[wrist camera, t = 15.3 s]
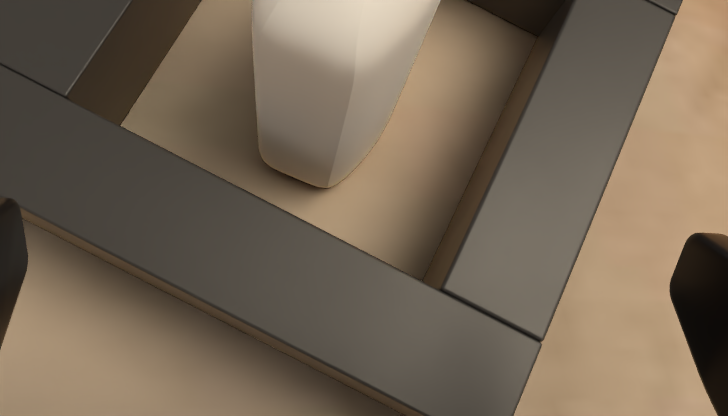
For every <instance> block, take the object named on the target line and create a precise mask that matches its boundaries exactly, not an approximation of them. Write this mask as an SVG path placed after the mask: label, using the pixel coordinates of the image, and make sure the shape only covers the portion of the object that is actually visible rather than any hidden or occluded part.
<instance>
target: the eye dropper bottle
mask: <svg viewBox="0 0 728 416" xmlns="http://www.w3.org/2000/svg"><path fill="white" fill-rule="evenodd" d="M440 1H441V0H252V45H253V63H254V81H255V99H256V115H257V130H258V145H259V152H260V154H261V157H262V160H263V161H264V162H265V163H267V164H268V165H269V166H270V167H272V168H274V169H276V170H278V171H280V172H282V173H285V174H287V175H289V176H292V177H294V178H296V179H299V180H301V181H304V182H306V183H309V184H311V185H314V186H316V187H324V188H329V187H331V186H334V185H336V184H338V183H339V182H341V181H342V180H343V179H344V178H346V177H347V176H348V175H349V174H350V173H351V172H352V171H353V170H354V169H355V168H356V167H357V166H358V165H359V164H360V163H361V162H362V160H363V159H364V158H365V157H366V156H367V154H368V153H369V152H370V151H371V149H372V148H373V146H374V145H375V144H376V142H377V141H378V139H379V137H380V136H381V134H382V132H383V131H384V129H385V127H386V125H387V123H388V121H389V119H390V117H391V115H392V112H393V110H394V108H395V106H396V103H397V101H398V99H399V96H400V94H401V92H402V89H403V87H404V85H405V82H406V80H407V78H408V75H409V73H410V71H411V68H412V66H413V64H414V61H415V59H416V57H417V54H418V52H419V50H420V47H421V45H422V43H423V40H424V38H425V36H426V33H427V31H428V29H429V26H430V24H431V22H432V19H433V17H434V15H435V12H436V10H437V8H438V5H439V3H440Z"/></svg>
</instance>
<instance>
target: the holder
mask: <svg viewBox="0 0 728 416" xmlns="http://www.w3.org/2000/svg"><path fill="white" fill-rule="evenodd" d="M468 1H470V2H472V3H474V4H476V5H478V6H480V7H482V8H484V9H486V10H488V11H490V12H492V13H494V14H495V15H497V16H499V17H501V18H503V19H505V20H507V21H509V22H511V23H513V24H515V25H517V26H519V27H521V28H523V29H525V30H527V31H529V32H531V33H533V34H535V35H536V36H538V38H537V40H536V42H535V44H534V46H533V48H532V50H531V52H530V54H529V57H528V59H527V61H526V63H525V65H524V67H523V69H522V71H521V73H520V76H519V78H518V80H517V82H516V84H515V86H514V88H513V90H512V93H511V95H510V97H509V99H508V101H507V103H506V105H505V107H504V109H503V112H502V114H501V116H500V118H499V120H498V122H497V124H496V126H495V128H494V131H493V133H492V135H491V137H490V139H489V141H488V143H487V145H486V148H485V150H484V152H483V154H482V156H481V158H480V160H479V162H478V164H477V167H476V169H475V171H474V173H473V175H472V177H471V179H470V181H469V184H468V186H467V188H466V190H465V192H464V194H463V196H462V198H461V200H460V203H459V205H458V207H457V209H456V211H455V213H454V215H453V217H452V220H451V222H450V224H449V226H448V228H447V230H446V232H445V234H444V236H443V239H442V241H441V243H440V245H439V247H438V249H437V251H436V253H435V255H434V258H433V260H432V262H431V264H430V266H429V268H428V270H427V272H426V275H425V277H424V279H423V281H421V280H419V279H417V278H415V277H413V276H411V275H409V274H407V273H405V272H403V271H401V270H399V269H397V268H395V267H393V266H392V265H390V264H388V263H386V262H384V261H382V260H380V259H378V258H376V257H374V256H372V255H370V254H368V253H366V252H364V251H362V250H360V249H358V248H357V247H355V246H353V245H351V244H349V243H347V242H345V241H343V240H341V239H339V238H337V237H335V236H333V235H331V234H329V233H327V232H325V231H323V230H321V229H320V228H318V227H316V226H314V225H312V224H310V223H308V222H306V221H304V220H302V219H300V218H298V217H296V216H294V215H292V214H290V213H288V212H286V211H285V210H283V209H281V208H279V207H277V206H275V205H273V204H271V203H269V202H267V201H265V200H263V199H261V198H259V197H257V196H255V195H253V194H251V193H250V192H248V191H246V190H244V189H242V188H240V187H238V186H236V185H234V184H232V183H230V182H228V181H226V180H224V179H222V178H220V177H218V176H216V175H215V174H213V173H211V172H209V171H207V170H205V169H203V168H201V167H199V166H197V165H195V164H193V163H191V162H189V161H187V160H185V159H183V158H181V157H179V156H178V155H176V154H174V153H172V152H170V151H168V150H166V149H164V148H162V147H160V146H158V145H156V144H154V143H152V142H150V141H148V140H146V139H144V138H143V137H141V136H139V135H137V134H135V133H133V132H131V131H129V130H127V129H125V128H123V127H121V126H120V124H121V122H122V121H123V119H124V118H125V116H126V115H127V113H128V112H129V110H130V109H131V107H132V106H133V104H134V103H135V101H136V99H137V98H138V96H139V95H140V93H141V92H142V90H143V89H144V87H145V86H146V84H147V83H148V81H149V80H150V78H151V77H152V75H153V73H154V72H155V70H156V69H157V67H158V66H159V64H160V63H161V61H162V60H163V58H164V57H165V55H166V54H167V52H168V50H169V49H170V47H171V46H172V44H173V43H174V41H175V40H176V38H177V37H178V35H179V34H180V32H181V31H182V29H183V28H184V26H185V24H186V23H187V21H188V20H189V18H190V17H191V15H192V14H193V12H194V11H195V9H196V8H197V6H198V5H199V3H200V2H201V0H0V197H5V198H12V199H14V200H15V201H16V202H17V203H18V205H19V207H20V210H21V215H22V218H23V219H25V220H27V221H29V222H31V223H33V224H34V225H36V226H38V227H40V228H42V229H44V230H46V231H48V232H50V233H52V234H54V235H56V236H58V237H60V238H62V239H64V240H66V241H67V242H69V243H71V244H73V245H75V246H77V247H79V248H81V249H83V250H85V251H87V252H89V253H91V254H93V255H95V256H97V257H99V258H100V259H102V260H104V261H106V262H108V263H110V264H112V265H114V266H116V267H118V268H120V269H122V270H124V271H126V272H128V273H130V274H132V275H133V276H135V277H137V278H139V279H141V280H143V281H145V282H147V283H149V284H151V285H153V286H155V287H157V288H159V289H161V290H163V291H165V292H166V293H168V294H170V295H172V296H174V297H176V298H178V299H180V300H182V301H184V302H186V303H188V304H190V305H192V306H194V307H196V308H198V309H199V310H201V311H203V312H205V313H207V314H209V315H211V316H213V317H215V318H217V319H219V320H221V321H223V322H225V323H227V324H229V325H231V326H232V327H234V328H236V329H238V330H240V331H242V332H244V333H246V334H248V335H250V336H252V337H254V338H256V339H258V340H260V341H262V342H264V343H265V344H267V345H269V346H271V347H273V348H275V349H277V350H279V351H281V352H283V353H285V354H287V355H289V356H291V357H293V358H295V359H297V360H298V361H300V362H302V363H304V364H306V365H308V366H310V367H312V368H314V369H316V370H318V371H320V372H322V373H324V374H326V375H328V376H330V377H332V378H333V379H335V380H337V381H339V382H341V383H343V384H345V385H347V386H349V387H351V388H353V389H355V390H357V391H359V392H361V393H363V394H365V395H366V396H368V397H370V398H372V399H374V400H376V401H378V402H380V403H382V404H384V405H386V406H388V407H390V408H392V409H394V410H396V411H398V412H399V413H401V414H403V415H405V416H513V415H514V413H515V410H516V408H517V405H518V403H519V400H520V398H521V395H522V393H523V390H524V388H525V386H526V383H527V381H528V378H529V376H530V373H531V371H532V368H533V366H534V363H535V361H536V359H537V356H538V354H539V351H540V349H541V346H542V344H541V343H540V342H542V341H543V340H544V338H545V336H546V333H547V331H548V328H549V326H550V323H551V321H552V319H553V316H554V314H555V311H556V309H557V306H558V304H559V301H560V299H561V296H562V294H563V292H564V289H565V287H566V284H567V282H568V279H569V277H570V274H571V272H572V269H573V267H574V265H575V262H576V260H577V257H578V255H579V252H580V250H581V247H582V245H583V242H584V240H585V238H586V235H587V233H588V230H589V228H590V225H591V223H592V220H593V218H594V215H595V213H596V211H597V208H598V206H599V203H600V201H601V198H602V196H603V193H604V191H605V188H606V186H607V184H608V181H609V179H610V176H611V174H612V171H613V169H614V166H615V164H616V161H617V159H618V157H619V154H620V152H621V149H622V147H623V144H624V142H625V139H626V137H627V134H628V132H629V130H630V127H631V125H632V122H633V120H634V117H635V115H636V112H637V110H638V107H639V105H640V103H641V100H642V98H643V95H644V93H645V90H646V88H647V85H648V83H649V81H650V78H651V76H652V73H653V71H654V68H655V66H656V63H657V61H658V58H659V56H660V54H661V51H662V49H663V46H664V44H665V41H666V39H667V36H668V34H669V31H670V29H671V27H672V24H673V22H674V19H675V16H676V15H677V13H678V11H679V8H680V6H681V3H682V1H683V0H468Z"/></svg>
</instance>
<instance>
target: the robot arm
mask: <svg viewBox="0 0 728 416" xmlns="http://www.w3.org/2000/svg"><path fill="white" fill-rule="evenodd" d="M27 265H28V252H27V245H26V239H25V233H24V227H23V221H22V215H21V210H20V207H19V205H18V203H17V202H16V201H15V200H14V199H12V198H5V197H0V349H1V346H2V343H3V340H4V337H5V334H6V331H7V328H8V325H9V322H10V319H11V316H12V313H13V310H14V307H15V304H16V301H17V298H18V295H19V292H20V289H21V286H22V283H23V280H24V277H25V274H26V271H27ZM670 296H671V300H672V303H673V305H674V308H675V311H676V314H677V316H678V319H679V322H680V324H681V327H682V330H683V332H684V335H685V338H686V341H687V343H688V346H689V349H690V351H691V354H692V357H693V359H694V362H695V365H696V367H697V370H698V373H699V375H700V378H701V380H702V383H703V385H704V388H705V390H706V392H707V394H708V396H709V398H710V401H711V403H712V405H713V407H714V409H715V411H716V413H717V415H718V416H728V236H726V235H723V234H715V233H695V234H693V235H691V236H690V237H689V238H688V239H687V241H686V243H685V245H684V248H683V250H682V253H681V255H680V258H679V260H678V263H677V265H676V268H675V270H674V273H673V276H672V278H671V282H670Z"/></svg>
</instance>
